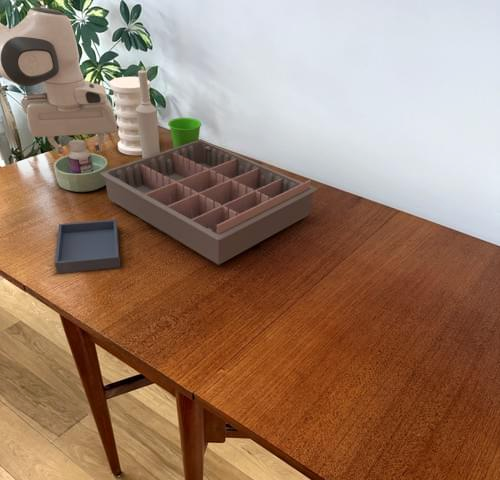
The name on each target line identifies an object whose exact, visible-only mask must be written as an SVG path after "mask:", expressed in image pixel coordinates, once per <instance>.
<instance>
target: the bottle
mask: <svg viewBox="0 0 500 480" xmlns="http://www.w3.org/2000/svg"><path fill="white" fill-rule="evenodd" d="M137 74H138V76H137V77H139V83H140V92H141V102H140V105H139V106H138V107H137V108H136V113H137V120H138V128H139V135H140V142H141V149H142V155H141V156H142V159H143V158H146V157H149V156H152V155H155V154H158V153H161V148H160V147H161V146H160V133H159V119H158V108H157V107H156V106H155V105H154V104H152V101H151V100H150V101H149V96H150V94H149V93H150V92H149V90H148V82H147V80H148V71H147V70H143V69H142V70H138V71H137Z"/></svg>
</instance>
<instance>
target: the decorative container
mask: <svg viewBox="0 0 500 480" xmlns="http://www.w3.org/2000/svg"><path fill="white" fill-rule="evenodd" d="M147 82H148V91H149V90H150V89H151V81H150V80H149V79H147ZM109 88H110V90H111V91H112V92H113V95H112V101H113V103H114V105H115V107H114V114H116V115H115V116H116V123H117V128H118V132H117V134H118V137H119V141H118V142H117V150H118V151H119V152H120V153H122V154H124V155H128V156H135V157H137V156H142V149H141V142H140V135H139V128H138V120H137V113H136V108H137V107H138V106H139V105H140V102H141V92H140V83H139V76H120V77H116V78H113V79H111V80H110V81H109ZM149 101H150V102H151V96H150V95H149Z"/></svg>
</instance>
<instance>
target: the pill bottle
mask: <svg viewBox="0 0 500 480" xmlns="http://www.w3.org/2000/svg"><path fill="white" fill-rule="evenodd" d="M67 145H68V149H69V151H68V152H67V155H68V158H69V162H70V167H71V171H72V174H82V173H89V172H93V167H92V161H91V156H90V153H91V152H90V151H89V150H88V149H86V148H87V144H86V142H85V140H82V139H73V140H70V141H69V142H68V143H67Z"/></svg>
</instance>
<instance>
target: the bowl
mask: <svg viewBox="0 0 500 480" xmlns="http://www.w3.org/2000/svg"><path fill="white" fill-rule="evenodd" d="M90 156H91V161H92V167H93V172H89V173H82V174H72V171H71V167H70V162H69V158H68V154H67V155H64V156H62V157H60V158H58V159H56V160H55V161H54V162H53V171H54V174H55V178H56V182H57V184H58V186H59V187H60V188H62V189H64V190H67V191H70V192H75V193H87V192H88V193H89V192H93V191H97V190H99V189H101V188H103V187H105V186H106V182H105V177H104V176H102V175H101V174H100V173H101V172H104V171H107V170H110V167H109V160H108V159H107V158H106V157H105V156H102V155H101V154H97V153H91V152H90Z"/></svg>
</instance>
